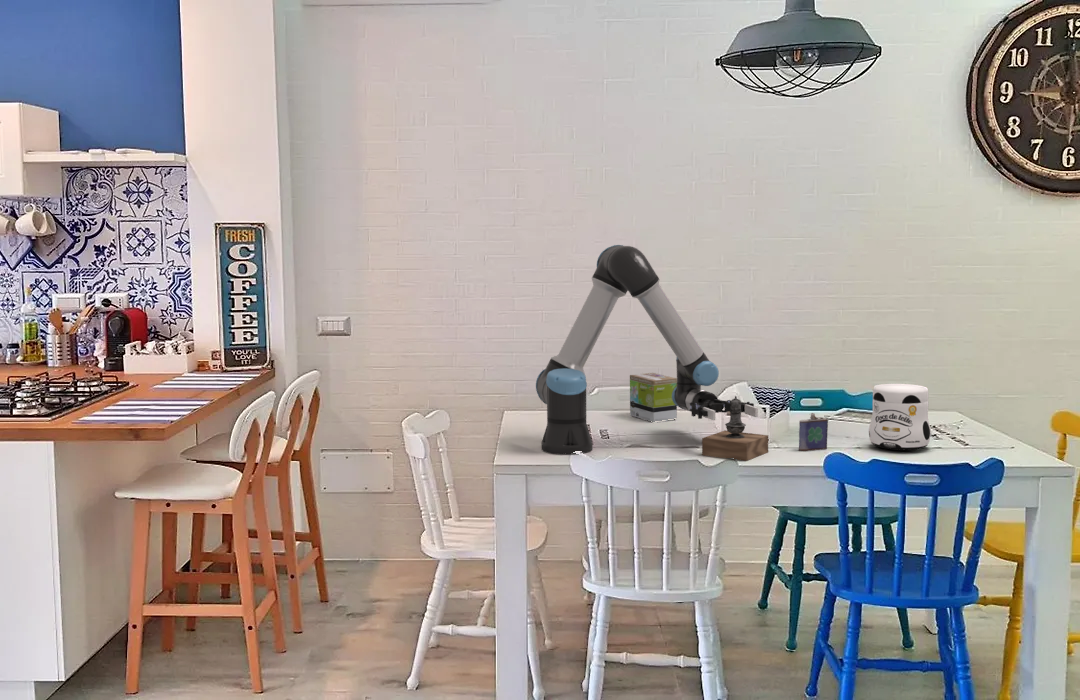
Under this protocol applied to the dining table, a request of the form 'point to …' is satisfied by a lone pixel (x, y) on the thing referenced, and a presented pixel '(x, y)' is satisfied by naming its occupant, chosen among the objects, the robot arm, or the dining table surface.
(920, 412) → the milk container
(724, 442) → the base block
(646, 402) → the tea box
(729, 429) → the salt shaker
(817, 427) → the flask
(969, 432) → the dining table surface
